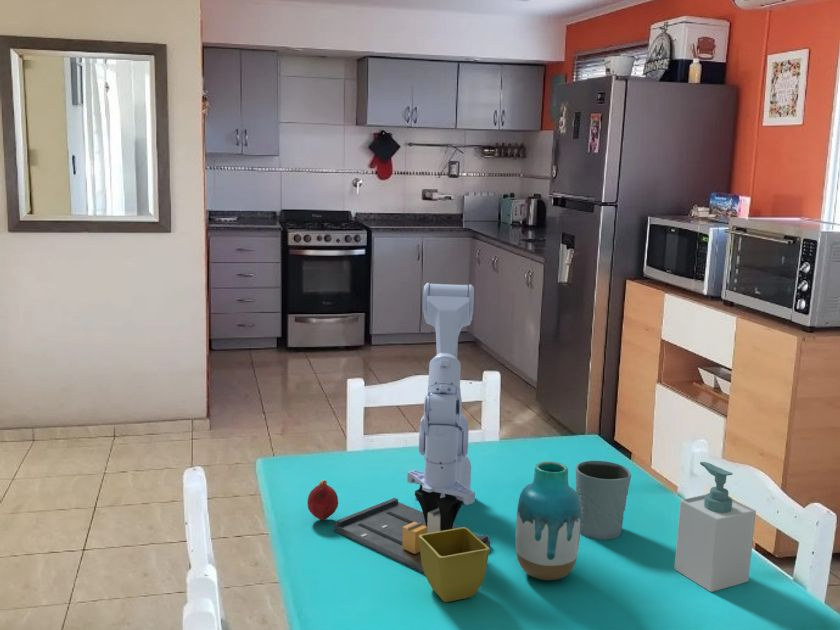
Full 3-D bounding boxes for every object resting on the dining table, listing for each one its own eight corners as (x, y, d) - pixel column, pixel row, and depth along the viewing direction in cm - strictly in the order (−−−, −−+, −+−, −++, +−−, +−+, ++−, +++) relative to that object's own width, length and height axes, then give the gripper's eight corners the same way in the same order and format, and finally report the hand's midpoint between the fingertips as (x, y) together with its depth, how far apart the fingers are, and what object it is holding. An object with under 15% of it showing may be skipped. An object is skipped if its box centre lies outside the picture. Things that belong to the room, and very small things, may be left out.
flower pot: (416, 585, 142) (417, 533, 140) (464, 576, 145) (466, 525, 144) (438, 611, 134) (440, 557, 132) (488, 601, 138) (491, 548, 136)
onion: (332, 528, 162) (333, 488, 160) (303, 525, 163) (303, 484, 161) (341, 515, 167) (342, 476, 166) (313, 512, 168) (313, 473, 167)
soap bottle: (709, 559, 154) (720, 457, 150) (748, 582, 146) (760, 474, 142) (672, 569, 150) (682, 464, 146) (711, 592, 142) (722, 482, 138)
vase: (562, 596, 140) (569, 484, 136) (502, 578, 145) (508, 469, 141) (586, 570, 148) (594, 464, 145) (529, 554, 154) (535, 451, 150)
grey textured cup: (561, 528, 164) (565, 468, 162) (590, 513, 172) (594, 455, 169) (608, 546, 158) (613, 484, 155) (636, 529, 165) (641, 469, 162)
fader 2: (438, 528, 160) (439, 505, 159) (450, 533, 158) (451, 510, 157) (426, 533, 158) (427, 510, 157) (439, 538, 156) (440, 515, 155)
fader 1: (414, 542, 154) (414, 519, 153) (426, 548, 152) (427, 525, 151) (402, 548, 152) (402, 524, 151) (414, 553, 150) (415, 530, 149)
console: (395, 506, 172) (395, 496, 172) (490, 546, 156) (490, 535, 156) (334, 530, 161) (334, 520, 160) (430, 576, 145) (430, 565, 144)
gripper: (396, 453, 157) (394, 523, 160) (457, 475, 147) (454, 549, 150) (422, 444, 162) (420, 512, 165) (483, 465, 152) (480, 537, 155)
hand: (438, 529), depth 158 cm, fingers closed on fader 2, 3 cm apart
